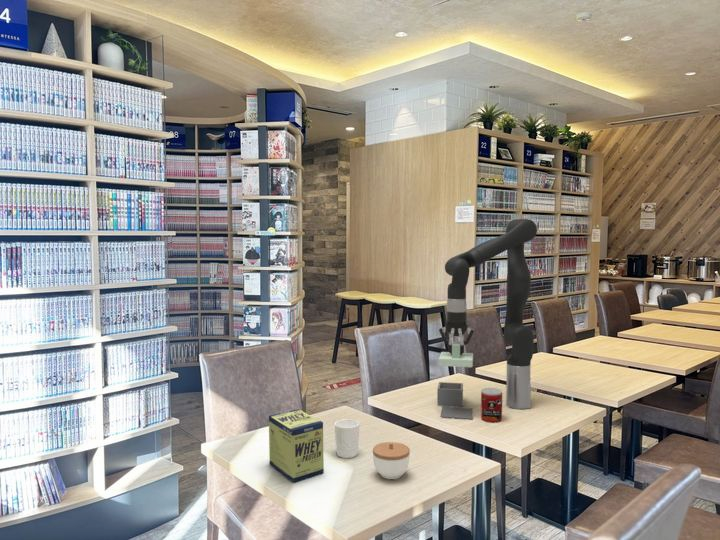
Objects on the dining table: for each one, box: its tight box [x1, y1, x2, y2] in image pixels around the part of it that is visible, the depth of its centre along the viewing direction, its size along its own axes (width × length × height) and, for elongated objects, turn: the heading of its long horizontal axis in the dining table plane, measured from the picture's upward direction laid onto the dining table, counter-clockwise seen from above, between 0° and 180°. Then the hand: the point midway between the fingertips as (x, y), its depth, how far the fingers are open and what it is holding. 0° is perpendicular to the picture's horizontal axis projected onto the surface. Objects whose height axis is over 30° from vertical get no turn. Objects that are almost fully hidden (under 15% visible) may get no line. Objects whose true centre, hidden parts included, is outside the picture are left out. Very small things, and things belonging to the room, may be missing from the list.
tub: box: [436, 381, 464, 408], centre depth 220 cm, size 10×10×7 cm
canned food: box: [480, 387, 503, 423], centre depth 200 cm, size 8×8×11 cm
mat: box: [439, 406, 474, 421], centre depth 207 cm, size 12×12×1 cm
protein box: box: [268, 408, 325, 484], centre depth 159 cm, size 10×16×16 cm
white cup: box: [334, 418, 360, 459], centre depth 170 cm, size 8×8×10 cm
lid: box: [438, 340, 474, 368], centre depth 206 cm, size 12×12×8 cm
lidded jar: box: [372, 441, 410, 480], centre depth 155 cm, size 11×11×9 cm
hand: (456, 354), depth 206 cm, fingers closed on lid, 3 cm apart
